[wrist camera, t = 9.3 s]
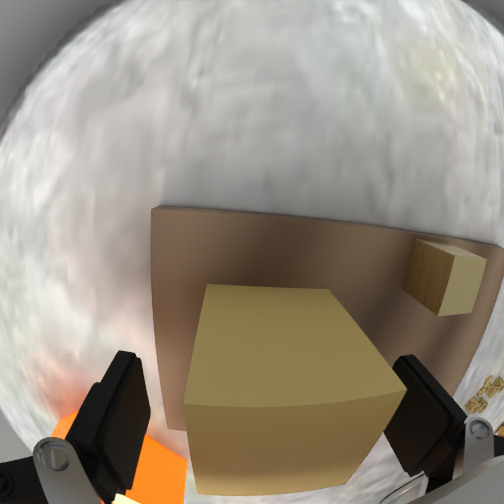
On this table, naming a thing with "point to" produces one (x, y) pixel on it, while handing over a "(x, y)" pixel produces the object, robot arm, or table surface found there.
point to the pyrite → (501, 431)
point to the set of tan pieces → (490, 390)
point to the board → (306, 285)
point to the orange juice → (147, 472)
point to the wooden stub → (443, 277)
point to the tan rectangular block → (282, 392)
